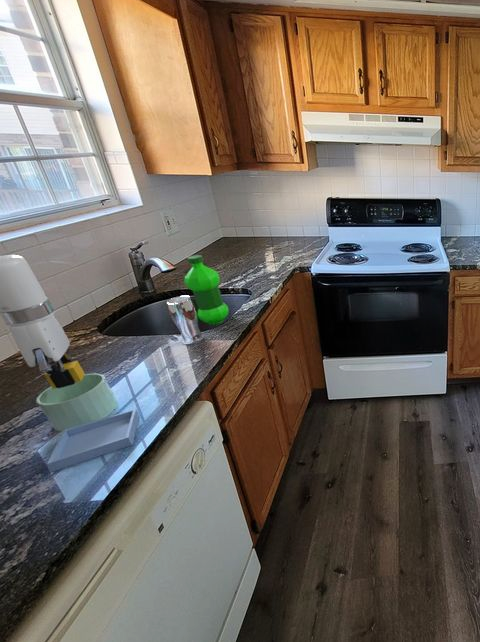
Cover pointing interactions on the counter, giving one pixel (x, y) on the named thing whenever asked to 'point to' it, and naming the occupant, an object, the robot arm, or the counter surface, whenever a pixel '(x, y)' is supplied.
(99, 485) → the counter surface
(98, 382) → the bowl
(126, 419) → the tray
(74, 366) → the sponge
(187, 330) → the beer glass
